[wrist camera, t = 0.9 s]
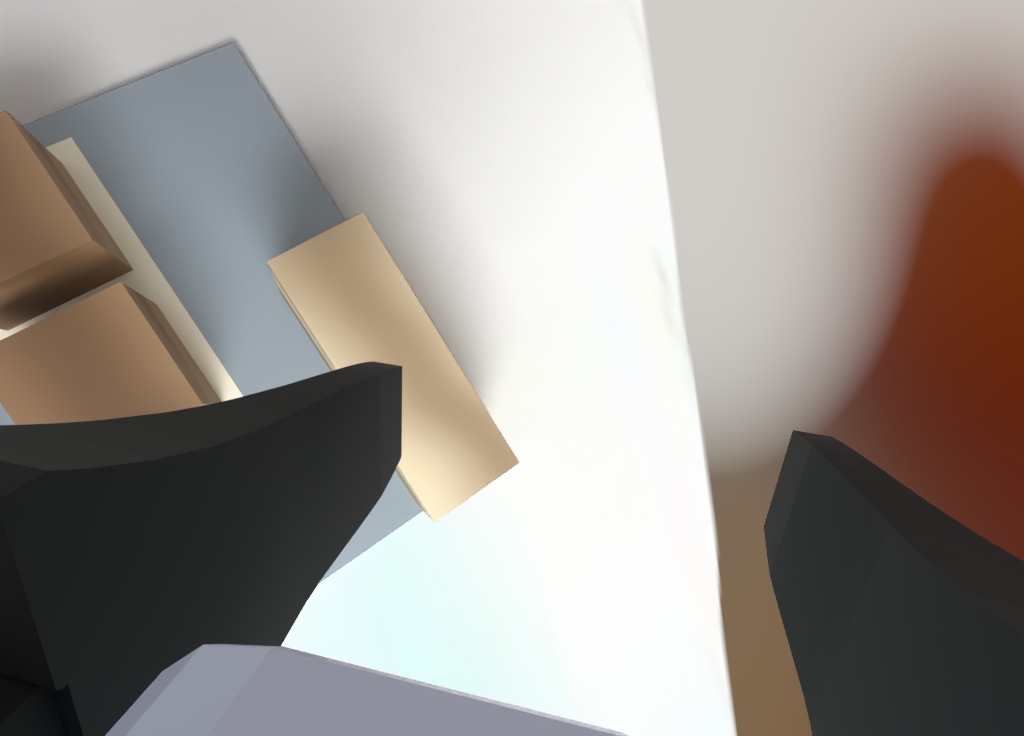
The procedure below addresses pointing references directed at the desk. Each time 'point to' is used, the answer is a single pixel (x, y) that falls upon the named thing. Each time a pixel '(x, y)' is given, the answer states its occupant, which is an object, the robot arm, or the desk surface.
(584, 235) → the desk surface
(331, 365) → the tan rectangular block
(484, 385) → the desk surface
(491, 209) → the desk surface
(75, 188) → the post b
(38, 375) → the brown wooden cube
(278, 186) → the board
